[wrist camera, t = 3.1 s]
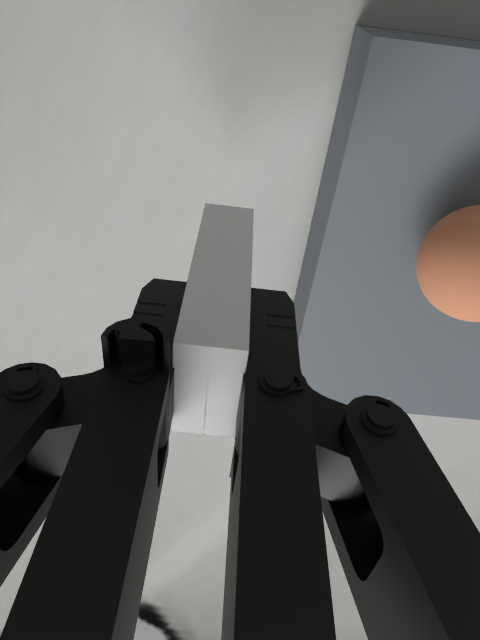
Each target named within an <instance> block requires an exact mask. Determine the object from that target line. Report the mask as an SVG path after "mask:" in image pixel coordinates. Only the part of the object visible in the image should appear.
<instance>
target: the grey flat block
mask: <svg viewBox="0 0 480 640" xmlns="http://www.w3.org/2000/svg"><path fill="white" fill-rule="evenodd" d="M473 205H480V41H474V40H467V39H459V38H451V37H444V36H436V35H428V34H421V33H413V32H405V31H398V30H390V29H382V28H375V27H367V26H359V25H355V30H354V34H353V39H352V43H351V48H350V52H349V57H348V61H347V66H346V70H345V75H344V79H343V84H342V88H341V93H340V97H339V102H338V106H337V111H336V115H335V120H334V124H333V129H332V133H331V138H330V143H329V147H328V152H327V156H326V161H325V165H324V170H323V174H322V179H321V183H320V188H319V192H318V197H317V201H316V206H315V210H314V215H313V219H312V224H311V228H310V233H309V237H308V242H307V246H306V251H305V255H304V260H303V264H302V269H301V273H300V278H299V282H298V287H297V291H296V296H295V301H294V306H295V316H296V317H295V319H296V327H297V328H296V330H297V337H298V348H299V358H300V369H301V373H302V375H303V376H304V377H305V378H306V381H307V383H308V385H309V386H310V387H311V388H312V389H314V390H315V391H316V392H318V393H319V394H321V395H323V396H325V397H327V398H330V399H332V400H335V401H338V402H341V403H343V404H346V405H348V404H349V403H350V402H351V401H352V400H353V399H354V398H356V397H360V396H364V395H371V396H379V397H382V398H385V399H387V400H390V401H392V402H393V403H395V404H396V405H398V406H399V407H401V408H402V409H403V411H404V412H405V413H409V414H420V415H431V416H442V417H453V418H464V419H475V420H480V322H469V321H463V320H459V319H456V318H453V317H451V316H448V315H446V314H444V313H443V312H441V311H440V310H438V309H437V308H436V307H434V306H433V305H432V304H431V303H430V302H429V301H428V299H427V298H426V297H425V295H424V294H423V292H422V290H421V288H420V286H419V283H418V280H417V274H416V259H417V253H418V250H419V247H420V245H421V243H422V241H423V239H424V237H425V235H426V234H427V233H428V231H429V230H430V229H431V228H432V227H433V226H434V225H435V224H436V223H437V222H438V221H439V220H441V219H442V218H443V217H445V216H446V215H448V214H450V213H452V212H454V211H456V210H458V209H461V208H464V207H468V206H473Z"/></svg>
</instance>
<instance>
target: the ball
mask: <svg viewBox="0 0 480 640" xmlns="http://www.w3.org/2000/svg"><path fill="white" fill-rule="evenodd" d="M416 274H417V280H418V283H419V286H420V288H421V290H422V292H423V294H424V295H425V297H426V298H427V299H428V301H429V302H430V303H431V304H432V305H433V306H434V307H436V308H437V309H438V310H440V311H441V312H443V313H444V314H446V315H448V316H451V317H453V318H456V319H459V320H463V321H469V322H480V205H473V206H468V207H464V208H461V209H458V210H456V211H454V212H452V213H450V214H448V215H446V216H445V217H443V218H442V219H441V220H439V221H438V222H437V223H436V224H435V225H434V226H433V227H432V228H431V229H430V230H429V231H428V233H427V234H426V235H425V237H424V239H423V241H422V243H421V245H420V247H419V250H418V253H417V259H416Z"/></svg>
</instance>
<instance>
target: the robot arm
mask: <svg viewBox="0 0 480 640" xmlns="http://www.w3.org/2000/svg"><path fill="white" fill-rule="evenodd" d="M253 210H254V209H249V208H241V207H232V206H223V205H215V204H206V203H205V207H204V211H203V216H202V220H201V224H200V229H199V233H198V237H197V242H196V246H195V250H194V255H193V259H192V263H191V267H190V272H189V276H188V280H187V282H181V281H172V280H163V279H153V280H152V281H150V282H149V283H148V284H147V285H146V286H144V287H143V288H142V290H141V293H140V295H139V298H138V301H137V304H136V306H135V309H134V313H133V315H132V317H131V318H129V319H125V320H122V321H118V322H116V323H114V324H112V325H111V326H109V327H107V328H106V330H105V331H104V332H103V334H102V335H101V342H102V351H103V361H104V368H102V369H100V370H98V371H95V372H93V373H88V374H84V375H78V376H71V377H64V378H61V377H60V375H59V374H58V372H57V371H56V370H55V369H54V368H52V367H50V366H48V365H46V364H41V363H33V362H32V363H24V364H18V365H15V366H12V367H10V368H7V369H5V370H3V371H2V372H0V587H1V585H2V583H3V582H4V580H5V579H6V577H7V576H8V574H9V573H10V571H11V570H12V568H13V567H14V565H15V564H16V562H17V561H18V559H19V558H20V556H21V555H22V553H23V552H24V550H25V549H26V547H27V545H28V544H29V542H30V541H31V539H32V538H33V536H34V535H35V533H36V532H37V530H38V529H39V527H40V526H41V524H42V523H43V521H44V520H45V518H46V520H45V522H44V525H43V528H42V530H41V533H40V535H39V538H38V541H37V543H36V546H35V548H34V551H33V554H32V556H31V559H30V561H29V564H28V567H27V569H26V572H25V574H24V577H23V580H22V582H21V585H20V587H19V590H18V593H17V595H16V598H15V600H14V603H13V606H12V608H11V611H10V613H9V616H8V619H7V621H6V624H5V627H4V629H3V632H2V634H1V637H0V640H133V639H134V634H135V628H136V623H137V618H138V612H139V607H140V602H141V596H142V591H143V585H144V580H145V575H146V569H147V564H148V559H149V553H150V548H151V543H152V537H153V532H154V526H155V521H156V516H157V510H158V505H159V500H160V494H161V489H162V484H163V478H164V473H165V467H166V462H167V457H168V446H169V433H170V428H171V431H177V432H187V433H198V434H208V435H218V436H229V437H235V446H234V452H233V458H232V464H231V470H230V477H231V491H230V507H229V523H228V539H227V556H226V572H225V588H224V604H223V620H222V637H221V640H336V634H335V625H334V615H333V606H332V597H331V588H330V578H329V569H328V560H327V550H326V541H325V532H324V523H323V514H324V516H325V519H326V522H327V525H328V528H329V530H330V533H331V536H332V539H333V542H334V544H335V547H336V550H337V553H338V556H339V559H340V561H341V564H342V567H343V570H344V573H345V575H346V578H347V581H348V584H349V587H350V589H351V592H352V595H353V598H354V601H355V604H356V606H357V609H358V612H359V615H360V618H361V620H362V623H363V626H364V629H365V632H366V634H367V637H368V640H480V533H479V531H478V529H477V528H476V526H475V524H474V523H473V521H472V519H471V518H470V516H469V515H468V513H467V511H466V510H465V508H464V506H463V505H462V503H461V501H460V500H459V498H458V496H457V495H456V493H455V492H454V490H453V488H452V487H451V485H450V483H449V482H448V480H447V478H446V477H445V475H444V473H443V472H442V470H441V469H440V467H439V465H438V464H437V462H436V460H435V459H434V457H433V455H432V454H431V452H430V450H429V449H428V447H427V445H426V444H425V442H424V441H423V439H422V437H421V436H420V434H419V432H418V431H417V429H416V427H415V426H414V424H413V422H412V421H411V419H410V418H409V416H408V415H407V414H406V413H405V412H404V411H403V409H402V408H401V407H399V406H398V405H396V404H395V403H393V402H392V401H390V400H387V399H385V398H382V397H379V396H371V395H364V396H360V397H356V398H354V399H353V400H352V401H351V402H350V403H349V404H348V405H346V404H343V403H341V402H338V401H335V400H332V399H330V398H327V397H325V396H323V395H321V394H319V393H318V392H316V391H315V390H314V389H312V388H311V387H310V386H309V385H308V383H307V381H306V378H305V377H304V376H303V375H302V373H301V369H300V358H299V348H298V337H297V330H296V328H297V327H296V319H295V317H296V316H295V306H294V303H293V301H292V300H291V299H290V297H289V296H288V294H287V293H286V292H284V291H275V290H266V289H257V288H251V272H252V241H253ZM322 511H323V513H322Z"/></svg>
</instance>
